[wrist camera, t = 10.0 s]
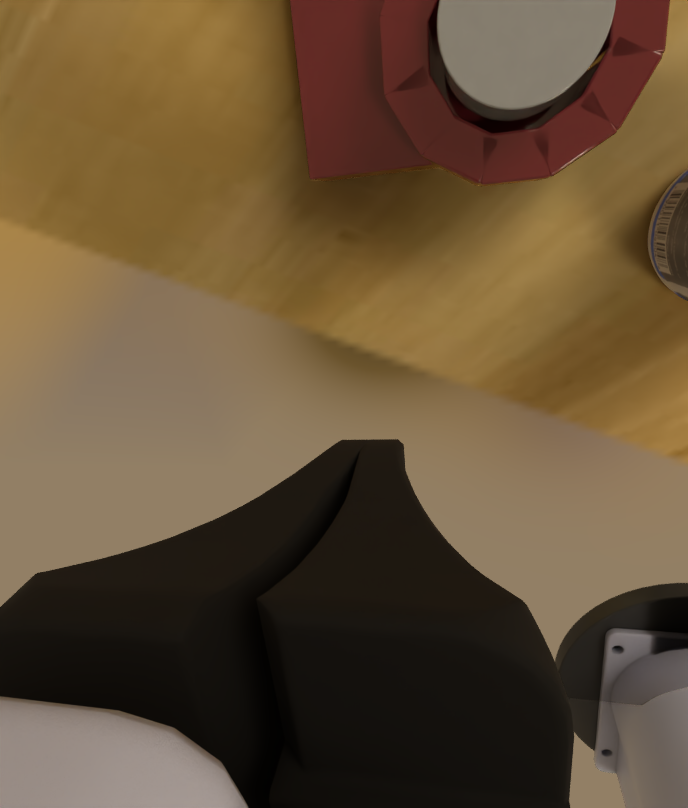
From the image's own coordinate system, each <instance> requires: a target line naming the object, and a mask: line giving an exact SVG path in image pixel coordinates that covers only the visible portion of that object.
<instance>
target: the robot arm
mask: <svg viewBox="0 0 688 808" xmlns="http://www.w3.org/2000/svg"><path fill="white" fill-rule="evenodd" d="M614 646H620V647H618V648H614ZM573 743H574V728H573V718H572V712H571V708H570V704H569V700H568V697H567V694H566V691H565V688H564V685H563V682H562V680H561V677H560V674H559V671H558V669H557V666H556V664H555V661H554V659H553V657H552V654H551V652H550V650H549V648H548V646H547V644H546V642H545V639H544V637H543V635H542V633H541V631H540V629H539V627H538V625H537V624H536V622H535V620H534V618H533V616H532V614H531V612H530V610H529V609H528V607H527V605H526V604H525V603H524V602H523V601H522V600H521V599H519V598H518V597H516V596H515V595H513V594H512V593H510V592H509V591H507V590H505V589H504V588H502V587H501V586H499V585H498V584H496V583H494V582H493V581H492V580H490V579H488V578H487V577H485V576H484V575H483V574H481V573H480V572H479V571H478V570H476V569H475V568H474V567H473V566H471V565H470V564H469V563H468V562H467V561H466V560H465V559H464V558H463V557H462V556H461V555H460V554H459V553H458V552H457V551H456V550H455V549H454V548H453V547H452V546H451V545H450V544H449V543H448V542H447V540H446V539H445V538H444V537H443V536H442V534H441V533H440V532H439V531H438V529H437V528H436V527H435V525H434V524H433V523H432V521H431V520H430V518H429V517H428V515H427V514H426V512H425V511H424V509H423V507H422V506H421V504H420V502H419V500H418V498H417V496H416V495H415V493H414V491H413V488H412V486H411V484H410V481H409V479H408V476H407V474H406V471H405V458H404V446H403V444H402V443H401V442H400V441H399V440H398V439H397V440H341V441H339V442H338V443H336V444H335V445H333V446H332V447H331V448H329V449H328V450H326V451H325V452H323V453H322V454H321V455H319V456H318V457H317V458H315V459H314V460H313V461H311V462H310V463H308V464H307V465H306V466H304V467H303V468H301V469H300V470H299V471H297V472H296V473H295V474H293V475H292V476H290V477H289V478H287V479H285V480H284V481H282V482H281V483H279V484H278V485H276V486H275V487H273V488H272V489H270V490H268V491H267V492H265V493H264V494H262V495H261V496H259V497H257V498H256V499H254V500H252V501H250V502H249V503H247V504H245V505H243V506H241V507H239V508H237V509H235V510H233V511H232V512H229V513H227V514H225V515H223V516H221V517H219V518H217V519H215V520H213V521H210V522H208V523H205V524H203V525H200V526H198V527H195V528H193V529H191V530H188V531H186V532H183V533H181V534H178V535H176V536H173V537H171V538H168V539H165V540H162V541H159V542H157V543H153V544H150V545H147V546H145V547H141V548H138V549H134V550H131V551H128V552H124V553H121V554H118V555H114V556H110V557H107V558H103V559H99V560H94V561H90V562H85V563H82V564H77V565H72V566H69V567H64V568H59V569H55V570H51V571H46V572H40V573H37V574H35V575H34V576H33V577H32V578H31V579H30V580H29V581H28V582H26V583H25V584H24V585H23V586H22V587H21V588H20V589H19V590H18V591H17V592H16V593H15V594H14V595H13V596H12V597H11V598H9V599H8V600H7V601H6V602H5V603H4V604H3V605H2V606H1V607H0V808H570V804H569V792H570V780H571V767H572V755H573ZM594 761H595V765H596V767H597V769H599V770H600V771H603V772H609V773H616V774H617V776H618V780H619V784H620V788H621V792H622V795H623V799H624V803H625V806H626V808H688V633H677V632H663V631H650V630H636V629H622V628H613V629H610V630H609V631H608V632H606V635H605V645H604V656H603V666H602V677H601V688H600V699H599V709H598V720H597V731H596V742H595V753H594Z"/></svg>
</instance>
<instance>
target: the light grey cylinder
mask: <svg viewBox="0 0 688 808" xmlns="http://www.w3.org/2000/svg"><path fill="white" fill-rule="evenodd" d="M615 6H616V0H439V5H438V13H437V36H438V45H439V51H440V57H441V62H442V67H443V72H444V75H445V77H446V80H447V82H448V84H449V86H450V88H451V90H452V92H453V93H454V95H455V96H456V98H457V99H458V100H459V101H460V102H461V103H462V104H463V105H464V106H465V107H467V108H468V109H469V110H470V111H472V112H474V113H475V114H477V115H479V116H482V117H484V118H487V119H492V120H497V121H515V120H519V119H524V118H527V117H530V116H533V115H535V114H537V113H539V112H541V111H543V110H545V109H546V108H548V107H550V106H551V105H553V104H554V103H555V102H556V101H557V100H559V99H560V98H561V97H562V96H563V95H564V94H565V93H566V92H567V91H568V90H569V89H570V88H571V87H572V86H573V85H574V84H575V83H576V81H577V80H578V79H579V78H580V77H581V76H582V75H583V74H584V73H585V72H586V71H587V69H588V68H589V67H590V66H591V64H592V63H593V62H594V60H595V58H596V57H597V55H598V54H599V52H600V50H601V48H602V46H603V44H604V42H605V40H606V38H607V36H608V33H609V30H610V27H611V24H612V21H613V16H614V12H615Z"/></svg>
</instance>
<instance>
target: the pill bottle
mask: <svg viewBox="0 0 688 808" xmlns="http://www.w3.org/2000/svg"><path fill="white" fill-rule="evenodd" d="M648 251H649V256H650V259H651V262H652V265H653V267H654V269H655V271H656V273H657V275H658V276H659V278H660V279H661V281H662V282H663V283H664V284H665V285H666V286H667V287H668V288H669V289H670V290H672V291H673V292H674V293H675V294H677V295H678V296H680V297H681V298H683V299H685V300H687V301H688V168H687V169H686V170H685V171H684V172H683V173H681V174H680V175H679V176H678V177H677V178H676V179H675V180H674V181H673V183H672V184H671V185H670V186H669V187H668V188H667V190H666V191H665V192H664V194H663V195H662V197H661V199H660V200H659V202H658V204H657V206H656V208H655V210H654V213H653V216H652V219H651V222H650V227H649V232H648Z"/></svg>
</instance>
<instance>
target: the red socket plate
mask: <svg viewBox="0 0 688 808" xmlns="http://www.w3.org/2000/svg"><path fill="white" fill-rule="evenodd" d="M669 4H670V0H616V6H615V12H614V16H613V21H612V24H611V27H610V30H609V33H608V36H607V38H606V40H605V42H604V44H603V46H602V48H601V50H600V52H599V54H598V55H597V57H596V58H595V60H594V62H593V63H592V64H591V66H590V68H589V70H588V69H587V71H586V72H585V73H584V74H583V75H582V76H581V77H580V78H579V79H578V80H577V81H576V83H575V84H574V85H573V86H572V87H571V88H570V89H569V90H568V91H567V92H566V93H565V94H564V95H563V96H562V97H561V98H560V99H559V100H557V101H556V102H555V103H554V104H553V105H551V106H550V107H548V108H546V109H545V110H543V111H541V112H539V113H537V114H535V115H533V116H530V117H527V118H524V119H519V120H515V121H497V120H492V119H487V118H484V117H482V116H479V115H477V114H475V113H474V112H472V111H470V110H469V109H468V108H467V107H465V106H464V105H463V104H462V103H461V102H460V101H459V100H458V99H457V98H456V96H455V95H454V93H453V92H452V90H451V88H450V86H449V84H448V82H447V80H446V77H445V75H444V72H443V67H442V62H441V57H440V51H439V45H438V36H437V13H438V5H439V0H290V7H291V16H292V25H293V34H294V43H295V52H296V61H297V70H298V79H299V88H300V97H301V106H302V114H303V123H304V132H305V141H306V150H307V159H308V168H309V177H310V179H311V180H319V181H333V180H341V179H350V178H358V177H366V176H375V175H383V174H392V173H400V172H408V171H417V170H425V169H433V168H441V169H443V170H445V171H447V172H449V173H451V174H453V175H455V176H457V177H459V178H461V179H463V180H465V181H467V182H469V183H471V184H474V185H479V186H481V187H482V186H491V185H500V184H509V183H518V182H528V181H537V180H541V179H546V178H548V177H551V176H554V175H555V174H557V173H558V172H560V171H561V170H563V169H564V168H566V167H567V166H568V165H570V164H571V163H573V162H574V161H576V160H577V159H579V158H580V157H582V156H583V155H585V154H586V153H587V152H589V151H590V150H592V149H593V148H595V147H596V146H598V145H599V144H601V143H602V142H604V141H605V140H606V139H608V138H609V137H611V136H612V135H614V134H615V133H616V132H617V130H618V129H619V128H620V127H621V125H622V124H623V122H624V120H625V119H626V117H627V115H628V114H629V112H630V110H631V109H632V107H633V105H634V104H635V102H636V100H637V99H638V97H639V95H640V94H641V92H642V90H643V89H644V87H645V85H646V84H647V82H648V80H649V79H650V77H651V75H652V74H653V72H654V70H655V68H656V67H657V65H658V63H659V62H660V60H661V58H662V53H664V51H665V46H666V36H667V25H668V15H669Z"/></svg>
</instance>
